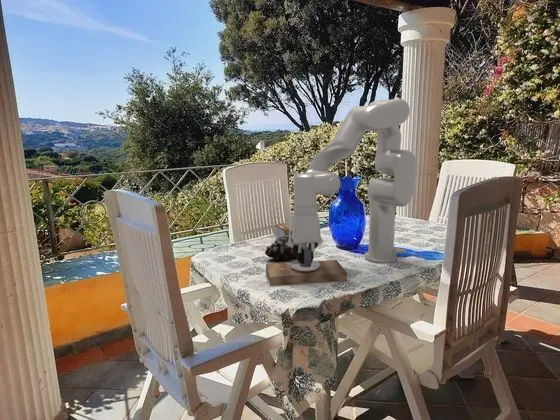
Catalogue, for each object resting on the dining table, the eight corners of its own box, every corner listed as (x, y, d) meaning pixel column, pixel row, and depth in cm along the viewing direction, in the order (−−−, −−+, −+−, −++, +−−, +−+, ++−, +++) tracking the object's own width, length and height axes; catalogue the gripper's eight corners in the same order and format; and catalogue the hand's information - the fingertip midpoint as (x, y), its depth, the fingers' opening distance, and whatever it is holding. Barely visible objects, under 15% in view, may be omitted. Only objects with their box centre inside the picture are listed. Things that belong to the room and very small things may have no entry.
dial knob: (323, 270, 136) (323, 250, 135) (294, 273, 135) (294, 252, 133) (313, 259, 148) (313, 240, 147) (286, 261, 146) (286, 242, 145)
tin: (292, 248, 173) (292, 229, 172) (285, 249, 172) (285, 230, 170) (279, 239, 187) (279, 221, 185) (273, 240, 186) (273, 222, 184)
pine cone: (261, 260, 158) (261, 236, 156) (293, 251, 170) (293, 227, 168) (280, 267, 150) (279, 241, 148) (311, 256, 163) (312, 232, 161)
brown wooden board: (336, 267, 149) (336, 259, 148) (346, 280, 136) (347, 271, 136) (266, 271, 146) (265, 263, 145) (270, 285, 133) (270, 276, 132)
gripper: (323, 206, 142) (322, 256, 146) (278, 209, 137) (279, 261, 141) (331, 210, 135) (331, 263, 139) (285, 214, 130) (286, 268, 134)
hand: (305, 261), depth 140 cm, fingers closed on dial knob, 2 cm apart
